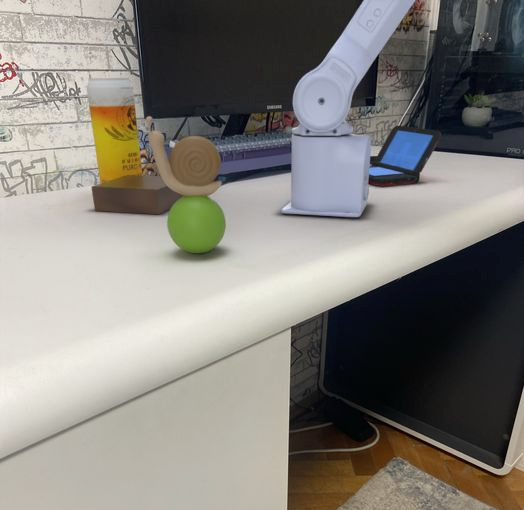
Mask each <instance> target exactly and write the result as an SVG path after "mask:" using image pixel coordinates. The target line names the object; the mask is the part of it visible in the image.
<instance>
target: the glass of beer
mask: <svg viewBox="0 0 524 510" xmlns="http://www.w3.org/2000/svg"><path fill="white" fill-rule="evenodd" d="M87 80H88V82H87V84H86V94H87V101H88V108H89V115H90V122H91V129H92V135H93V143H94V150H95V155H96V157H95V158H96V162H97V170H98V176H99V184H101V183H104V182H107V181H110V180H114V179H117V178H120V177H123V176H126V175H139V176H144V175H143V174H144V173H143V166H142V157H141V148H140V141H139V130H138V129H139V128H138V121H137V119H138V118H137V111H136V102H135V94H134V86H133V85H132V83H131V81H130V77H88V79H87Z"/></svg>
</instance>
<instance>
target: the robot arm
mask: <svg viewBox="0 0 524 510" xmlns="http://www.w3.org/2000/svg"><path fill="white" fill-rule="evenodd" d="M415 2H416V0H363V1H362V2H361V4H359V7H358V8H357V9H356V11H355V13H354V14H353V16H352V18H351V19H350V21H348V22H349V23H348V24H347V26H346V27H345V28H344V30H343V32H342V33H341V34H340V36H339V37H338V39H337V40H336V42H335V43H334V45H333V46H332V47H331V48H330V50H329V52H328V53H327V54H326V56H325V58H324V59H323V60H322V62H321V63H320V64H319V65H318V66H316V67H315V68H314V69H311V70H310V71H309V72H307V73H306V74H304V75H303V76H302V77H301V78H300V79H299V81H298V82H297V84H296V86H295V88H294V91H293V95H292V108H293V112H294V115H295V117H296V120H297V121H298V122H299V124H298V126H295V127H293V128H291V133H292V134H291V165H290V166H291V168H290V169H291V173H290V182H291V183H290V201H289V203H287V204H286V205H285V206H284V207H283V208H281V210H280V211H281V214H287V215H288V214H289V215H304V216H305V215H306V216H307V215H308V216H322V217H323V216H324V217H341V218H343V217H344V218H360V217H361V215H363V212H364V210H365V209H366V207H367V205H368V200H369V194H370V185H369V183H368V180H369V167H370V165H371V153H372V152H371V151H372V149H371V148H372V142H371V141H372V139H371V135H368V134H356V133H354V126H353V125H350V124H349V123H348V121H347V120H346V119H347V116H348V115H349V113H350V109H351V106H352V101H353V100H352V99H353V95H354V92H355V91H356V89H357V87H358V85H359V84H360V82H361V81H362V79H363V78H364V77H365V76H366V74H367V72H368V71H369V69H370V67H371V66H372V64H373V62H374V61H375V60H376V58H377V57H378V55H379V54H380V52H381V51H382V50H383V48H384V47H385V45H386V44H387V42H388V41H389V39H390V38H391V37H392V35H393V34H394V32H395V31H396V29H397V28H398V26H400V24H401V22H402V21H403V19H404V18H405V17H406V15H407V14H408V12H409V10H410V9H411V8H412V6H413V5H414V3H415Z"/></svg>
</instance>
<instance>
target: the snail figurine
mask: <svg viewBox="0 0 524 510" xmlns="http://www.w3.org/2000/svg"><path fill="white" fill-rule="evenodd" d="M153 121H154V118H153V117H152V116H150V115H148V116H147V117H146V118H145V122H146V124H148V132H149V133H148V135H147V139H148V144H149V147H150V148H151V150H152V155H153V159H154V161H155V165H156V167H157V170H158V174H159V175H160V176H161V177H162V179H163V181H164V182H165V184H166V185H167V186H168V187H169V188H170V189H172V190H173V191H175V192H177V193H179V194H182V195H184V196H183V197H182V198H180V199H179V200H177V201H176V202H175V203H174V204H173V206H172V207H171V209H169V210H168V211H169V212H168V214H167V220H166V225H167V231H168V234H169V236H170V238H171V240H172V241H173V243H174V244H175V245H176V246H177V247H179V248H180V249H181V250H183V251H185V252H188V253H190V254H204V253H208V252H209V251H211V250H213V249H215V248H216V247H217V246H218V245H219V244H220V243H221V241H222V240H223V237H224V236H225V232H226V224H227V221H226V216H225V212H224V211H223V209H222V207H221V206H220V204H219V203H218V202H217V201H215V199H214V198H212V197H210V196H212V195H213V194H215V192H217V191H218V190H219V189H220V187H221V186H222V185H223V183H222V181H221V180H215V179H216V178H217V176H218V175H219V174H220V171H221V166H222V159H221V155H220V151H219V149H218V148H217V146H216V145H215V144H214V143H213V142H212V141H211V140H209V139H208V138H206V137H205V136H201V135H188V136H185V137H183V138H181V139H180V140H178V141H177V143H175V145H174V146H173V148H172V149H171V152H170V154H169V155H170V156H169V158H168V155H167V152H166V149H165V136H164V134H163V133H162V132H161V131H160V130H151V123H153ZM214 180H215V181H214Z"/></svg>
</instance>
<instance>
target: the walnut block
mask: <svg viewBox="0 0 524 510" xmlns="http://www.w3.org/2000/svg"><path fill="white" fill-rule="evenodd" d="M91 194H92V200H93V208H94V211H95V212H113V213H125V214H127V213H128V214H143V215H161V214H163V213H165V212H167V211H170V209H171V207H172V206H173V204H174V203H175V202H176V201H177V200H179V199H180V198H182V197H183V196H184V195H182V194H179V193H177V192H175V191H173V190H172V189H170V188H169V187H168V186H167V185H166V184H165V182H164V181H163V179H162V177H161V175H160V176H159V175H143V176H139V175H126V176H123V177H120V178H117V179H114V180H110V181H107V182H104V183H101V184H100V183H98V184H96V185H92V186H91Z"/></svg>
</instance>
